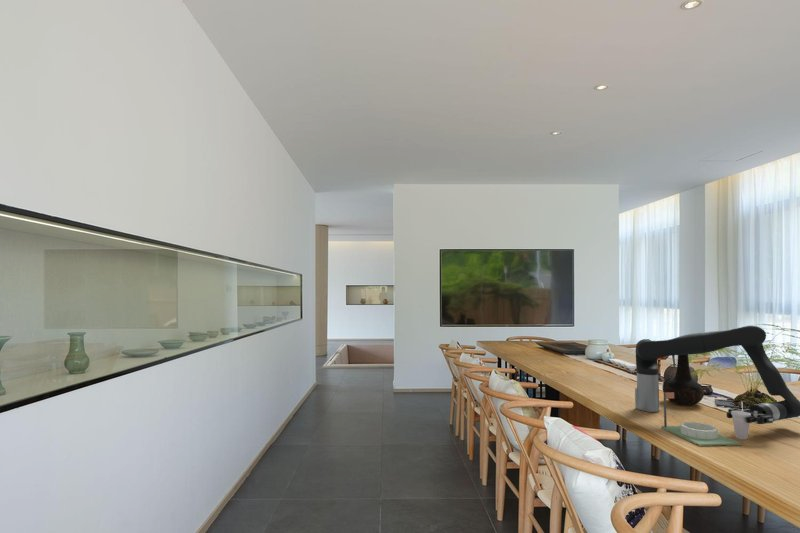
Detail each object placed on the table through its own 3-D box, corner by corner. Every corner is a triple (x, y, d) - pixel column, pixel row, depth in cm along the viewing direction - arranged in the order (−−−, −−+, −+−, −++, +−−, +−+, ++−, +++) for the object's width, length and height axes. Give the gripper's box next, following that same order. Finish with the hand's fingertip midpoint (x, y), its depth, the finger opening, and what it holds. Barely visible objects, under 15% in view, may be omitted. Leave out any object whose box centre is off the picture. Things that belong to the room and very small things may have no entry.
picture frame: (758, 406, 229) (714, 401, 239) (758, 402, 230) (714, 397, 239) (762, 412, 218) (716, 407, 227) (762, 408, 218) (716, 403, 228)
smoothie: (755, 441, 176) (754, 404, 177) (736, 440, 177) (735, 403, 178) (746, 435, 182) (745, 399, 183) (728, 434, 184) (727, 399, 184)
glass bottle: (666, 397, 245) (665, 344, 247) (706, 403, 234) (705, 347, 235) (659, 403, 232) (658, 347, 233) (701, 410, 220) (699, 351, 221)
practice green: (661, 428, 192) (660, 392, 193) (698, 427, 193) (697, 391, 194) (699, 446, 170) (698, 405, 171) (740, 445, 171) (739, 405, 172)
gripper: (743, 399, 193) (718, 403, 186) (783, 408, 179) (757, 412, 173) (744, 417, 192) (718, 422, 186) (784, 427, 179) (758, 432, 173)
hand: (737, 417), depth 179 cm, fingers closed on smoothie, 6 cm apart
